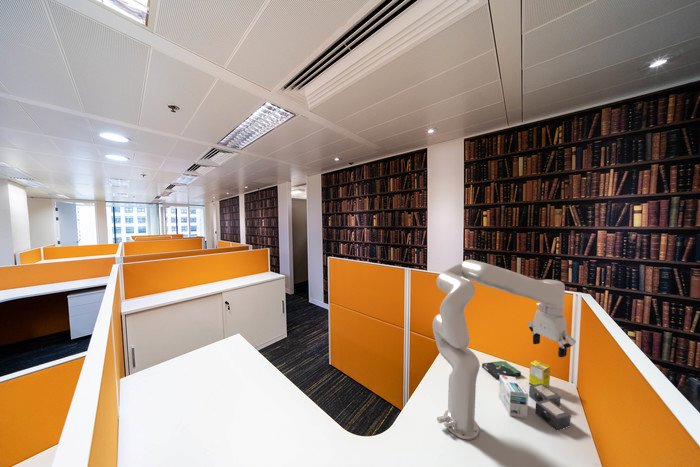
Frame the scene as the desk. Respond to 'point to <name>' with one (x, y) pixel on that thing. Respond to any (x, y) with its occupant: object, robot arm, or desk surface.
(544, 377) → the supplement box
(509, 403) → the light bulb box
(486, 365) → the disk drive
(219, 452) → the desk surface
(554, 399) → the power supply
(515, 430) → the desk surface
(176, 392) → the desk surface
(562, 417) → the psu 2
